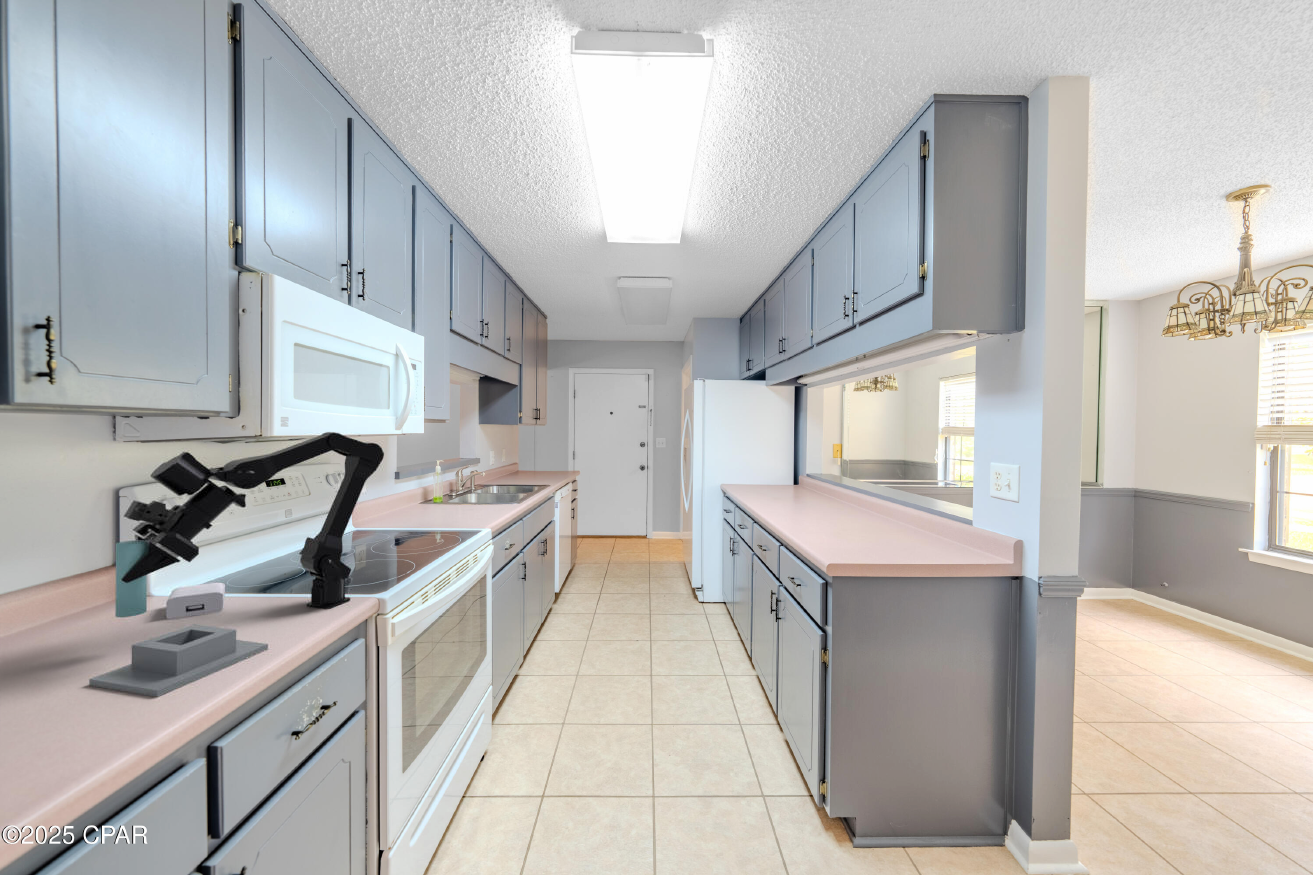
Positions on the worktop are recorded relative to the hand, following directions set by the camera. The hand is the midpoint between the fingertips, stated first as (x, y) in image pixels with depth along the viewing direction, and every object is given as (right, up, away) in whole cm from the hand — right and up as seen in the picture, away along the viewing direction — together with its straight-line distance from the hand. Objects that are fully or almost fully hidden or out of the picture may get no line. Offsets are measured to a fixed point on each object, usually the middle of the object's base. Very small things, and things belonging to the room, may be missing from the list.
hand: (120, 579), depth 94 cm
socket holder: (+15, -14, -4) cm, 21 cm away
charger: (-8, -13, +25) cm, 30 cm away
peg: (+1, -7, +1) cm, 7 cm away
